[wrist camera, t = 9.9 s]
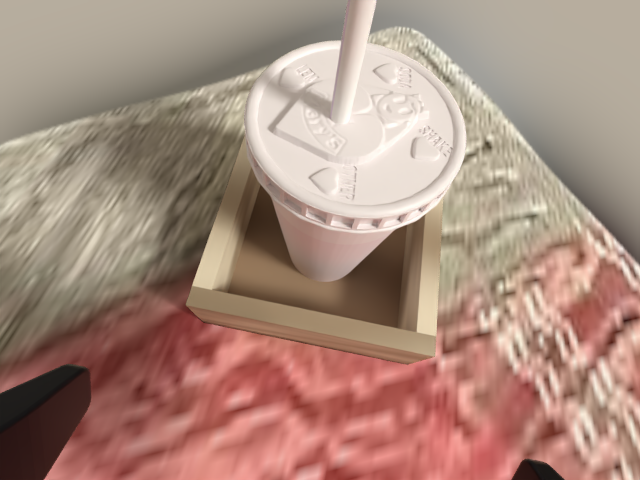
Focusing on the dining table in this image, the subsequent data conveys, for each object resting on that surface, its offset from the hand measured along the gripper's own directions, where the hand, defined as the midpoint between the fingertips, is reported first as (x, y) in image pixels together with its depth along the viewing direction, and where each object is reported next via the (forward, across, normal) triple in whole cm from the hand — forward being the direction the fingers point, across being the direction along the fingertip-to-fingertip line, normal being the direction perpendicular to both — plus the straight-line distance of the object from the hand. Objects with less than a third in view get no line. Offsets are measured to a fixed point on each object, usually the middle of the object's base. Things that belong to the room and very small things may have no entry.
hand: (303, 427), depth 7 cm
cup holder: (+12, 0, +1) cm, 13 cm away
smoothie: (+12, 0, +1) cm, 12 cm away
